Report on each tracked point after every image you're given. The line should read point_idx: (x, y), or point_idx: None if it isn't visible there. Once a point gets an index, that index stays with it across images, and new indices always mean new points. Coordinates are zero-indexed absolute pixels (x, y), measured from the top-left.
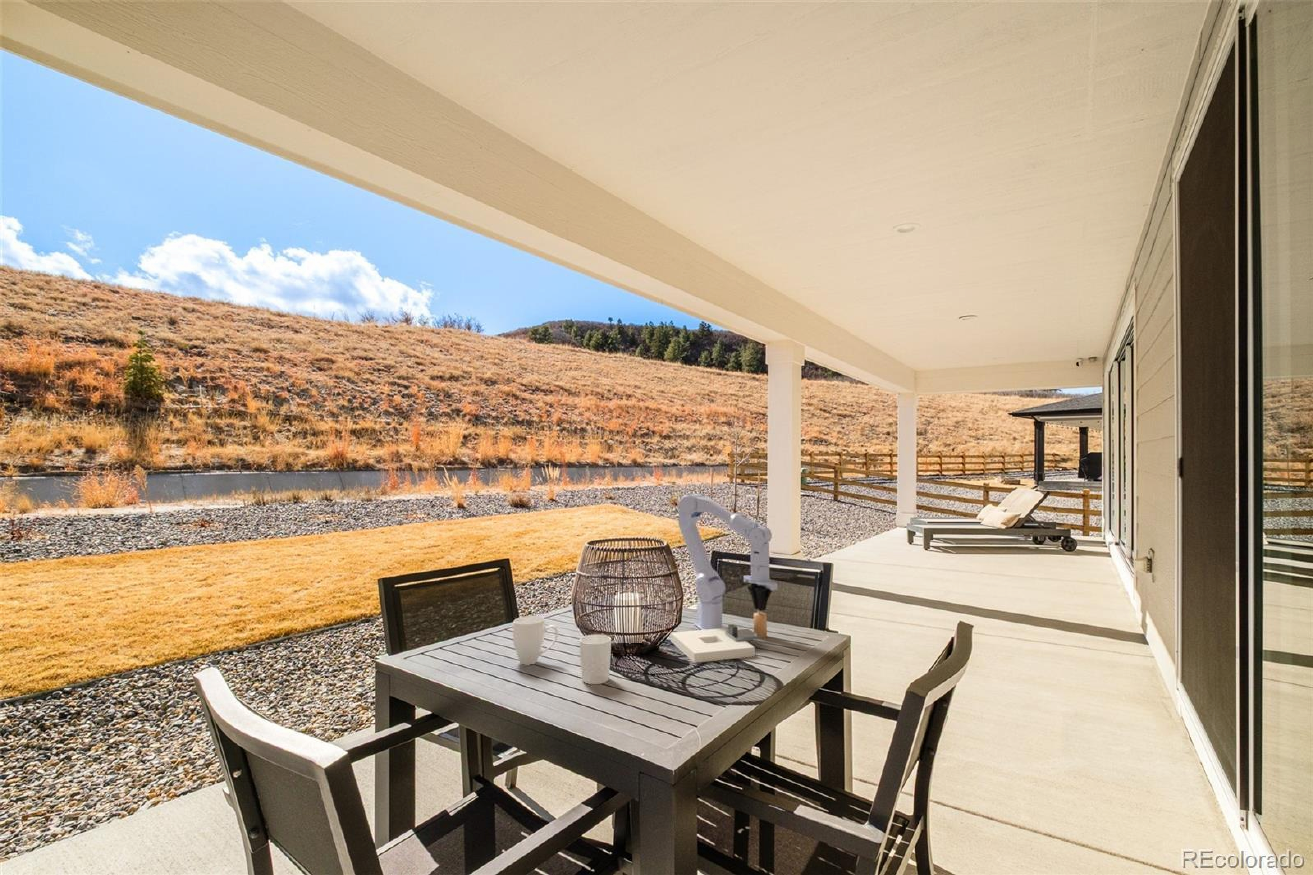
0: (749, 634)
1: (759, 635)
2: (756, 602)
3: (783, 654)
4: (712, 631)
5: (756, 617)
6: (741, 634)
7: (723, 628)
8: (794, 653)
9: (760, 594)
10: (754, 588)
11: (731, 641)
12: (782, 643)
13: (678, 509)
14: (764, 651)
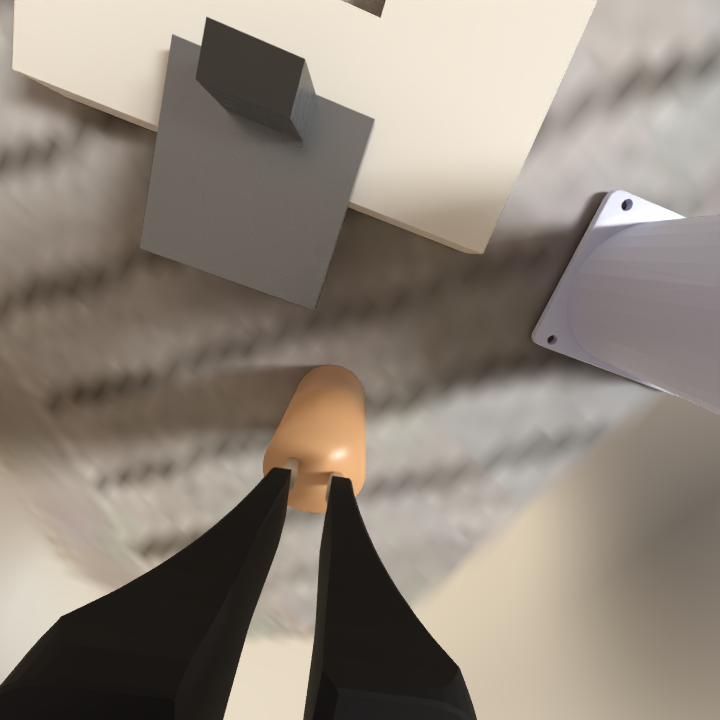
0: (203, 215)
1: (306, 377)
2: (327, 526)
3: (35, 271)
4: (487, 95)
5: (306, 417)
6: (230, 160)
7: (481, 230)
8: (29, 330)
9: (124, 591)
10: (185, 675)
11: (203, 17)
12: (187, 402)
13: None
14: (121, 224)
